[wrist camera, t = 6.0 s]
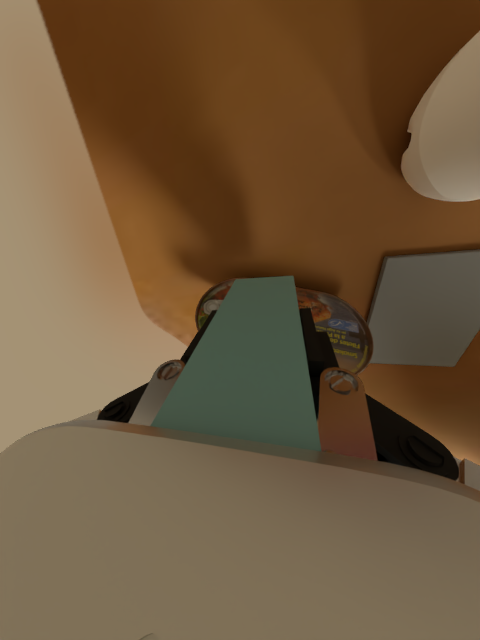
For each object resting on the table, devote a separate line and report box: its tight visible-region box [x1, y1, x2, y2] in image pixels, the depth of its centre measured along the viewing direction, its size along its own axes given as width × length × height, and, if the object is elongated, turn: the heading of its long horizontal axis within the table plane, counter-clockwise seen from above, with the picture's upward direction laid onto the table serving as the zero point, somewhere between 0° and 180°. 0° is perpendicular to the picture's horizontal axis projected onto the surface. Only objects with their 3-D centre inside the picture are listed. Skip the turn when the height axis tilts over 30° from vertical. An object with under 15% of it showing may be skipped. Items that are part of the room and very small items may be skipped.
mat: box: [367, 249, 480, 367], centre depth 17 cm, size 12×9×1 cm
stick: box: [151, 276, 322, 452], centre depth 8 cm, size 4×4×14 cm
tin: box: [195, 278, 374, 375], centre depth 16 cm, size 15×3×8 cm, turn 82°
